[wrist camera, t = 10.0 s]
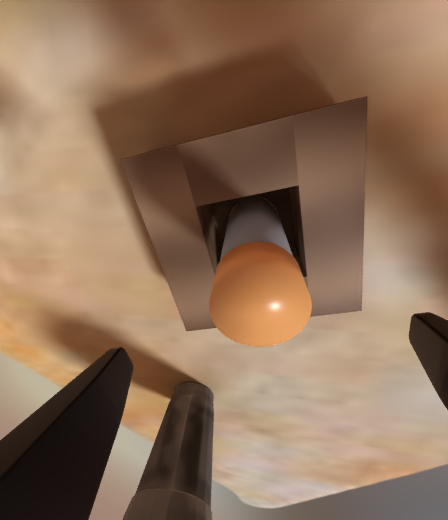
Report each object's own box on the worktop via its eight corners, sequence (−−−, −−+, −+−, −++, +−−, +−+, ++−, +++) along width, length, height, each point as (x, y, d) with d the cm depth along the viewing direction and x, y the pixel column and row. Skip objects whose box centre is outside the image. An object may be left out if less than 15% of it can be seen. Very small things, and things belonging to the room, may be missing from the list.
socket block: (341, 277, 20) (361, 310, 16) (196, 298, 22) (186, 331, 18) (338, 103, 14) (367, 96, 11) (146, 152, 17) (119, 159, 13)
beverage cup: (149, 393, 29) (-2, 811, 11) (187, 363, 26) (63, 864, 8) (198, 421, 31) (134, 817, 13) (239, 396, 28) (226, 862, 10)
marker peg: (282, 240, 19) (314, 341, 10) (232, 248, 19) (221, 350, 11) (276, 189, 17) (307, 257, 8) (221, 200, 18) (197, 274, 9)
